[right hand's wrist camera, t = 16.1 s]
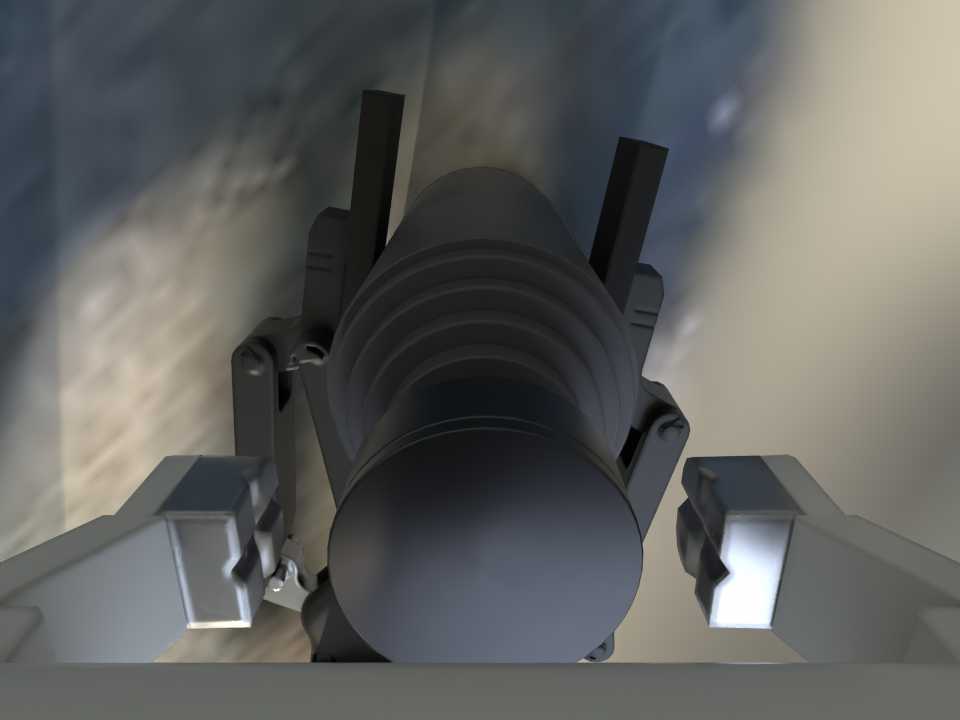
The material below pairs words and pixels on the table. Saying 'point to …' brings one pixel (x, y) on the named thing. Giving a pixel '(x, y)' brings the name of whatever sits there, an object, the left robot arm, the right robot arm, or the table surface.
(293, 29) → the table surface
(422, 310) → the bottle
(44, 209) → the table surface
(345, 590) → the cap
